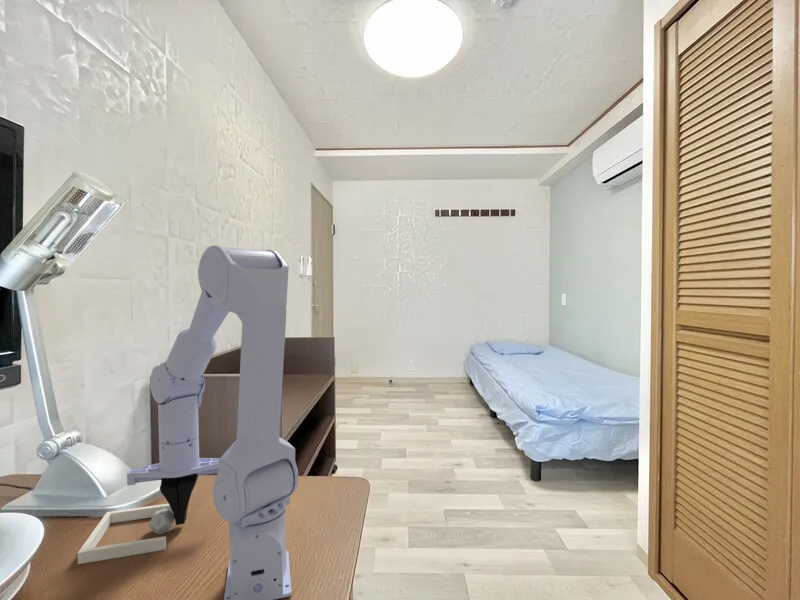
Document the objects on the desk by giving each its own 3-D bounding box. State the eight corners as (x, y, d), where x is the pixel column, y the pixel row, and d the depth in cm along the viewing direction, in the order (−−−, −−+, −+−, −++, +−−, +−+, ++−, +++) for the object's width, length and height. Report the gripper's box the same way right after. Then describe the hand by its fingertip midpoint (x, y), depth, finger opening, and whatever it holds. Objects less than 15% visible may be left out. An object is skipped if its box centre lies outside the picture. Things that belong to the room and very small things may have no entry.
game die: (178, 523, 72) (177, 505, 72) (169, 536, 68) (169, 517, 68) (155, 525, 71) (155, 507, 71) (145, 538, 67) (144, 519, 67)
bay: (165, 549, 64) (164, 539, 64) (77, 564, 61) (77, 553, 61) (180, 511, 76) (179, 501, 76) (107, 521, 72) (106, 512, 72)
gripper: (229, 426, 76) (230, 502, 76) (135, 435, 72) (137, 516, 72) (225, 439, 69) (227, 523, 70) (121, 450, 65) (124, 539, 65)
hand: (181, 521), depth 70 cm, fingers closed
